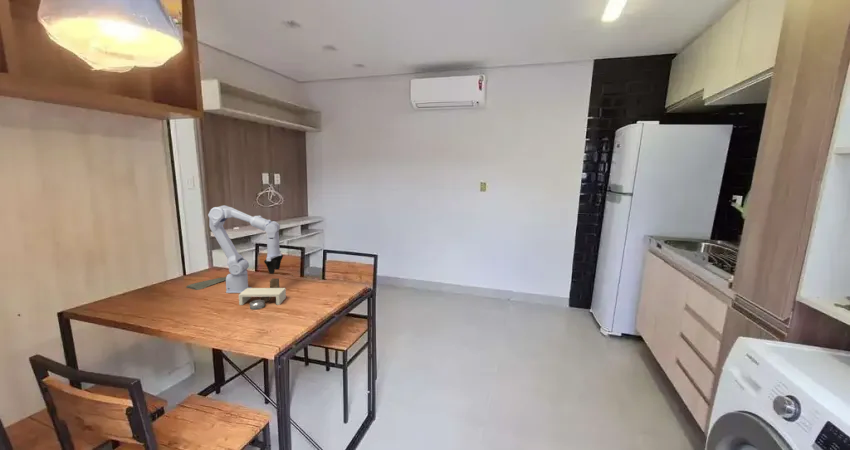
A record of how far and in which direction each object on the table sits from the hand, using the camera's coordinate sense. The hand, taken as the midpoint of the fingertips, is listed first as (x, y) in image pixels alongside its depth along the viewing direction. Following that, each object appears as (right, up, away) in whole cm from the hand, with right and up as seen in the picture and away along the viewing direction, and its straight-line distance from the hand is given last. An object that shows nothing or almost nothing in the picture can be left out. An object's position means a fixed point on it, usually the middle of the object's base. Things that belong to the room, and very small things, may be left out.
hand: (274, 271), depth 178 cm
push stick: (+1, -11, -6) cm, 13 cm away
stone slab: (-39, -8, +10) cm, 41 cm away
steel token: (+1, -14, -21) cm, 25 cm away
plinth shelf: (+1, -12, -14) cm, 19 cm away
